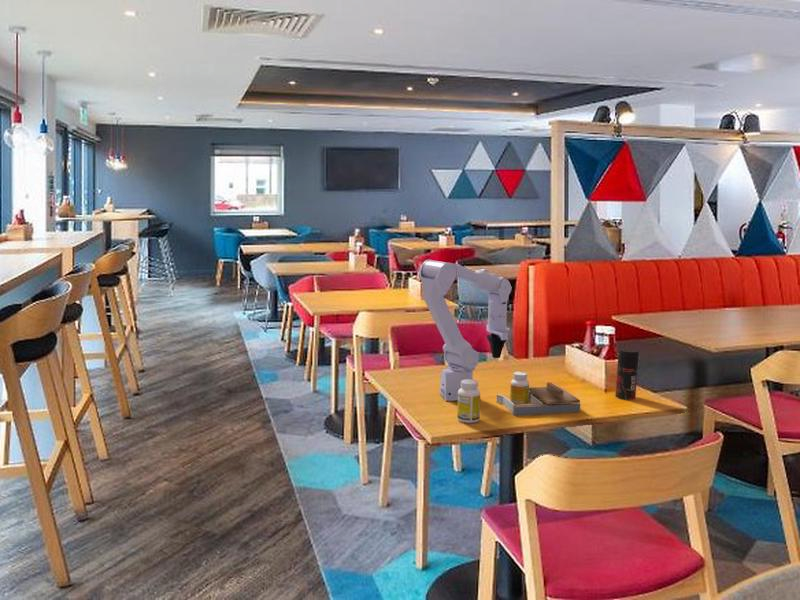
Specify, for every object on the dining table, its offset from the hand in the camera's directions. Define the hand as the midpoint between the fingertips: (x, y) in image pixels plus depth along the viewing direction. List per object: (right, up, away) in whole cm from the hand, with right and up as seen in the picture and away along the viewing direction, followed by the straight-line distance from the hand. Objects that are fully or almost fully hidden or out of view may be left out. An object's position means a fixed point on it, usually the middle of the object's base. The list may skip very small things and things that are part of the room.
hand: (496, 357), depth 227 cm
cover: (+15, -10, -15) cm, 23 cm away
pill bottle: (-11, -15, -28) cm, 34 cm away
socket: (+10, -13, -15) cm, 22 cm away
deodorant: (+40, -12, -4) cm, 42 cm away
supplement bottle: (+5, -13, -14) cm, 20 cm away
